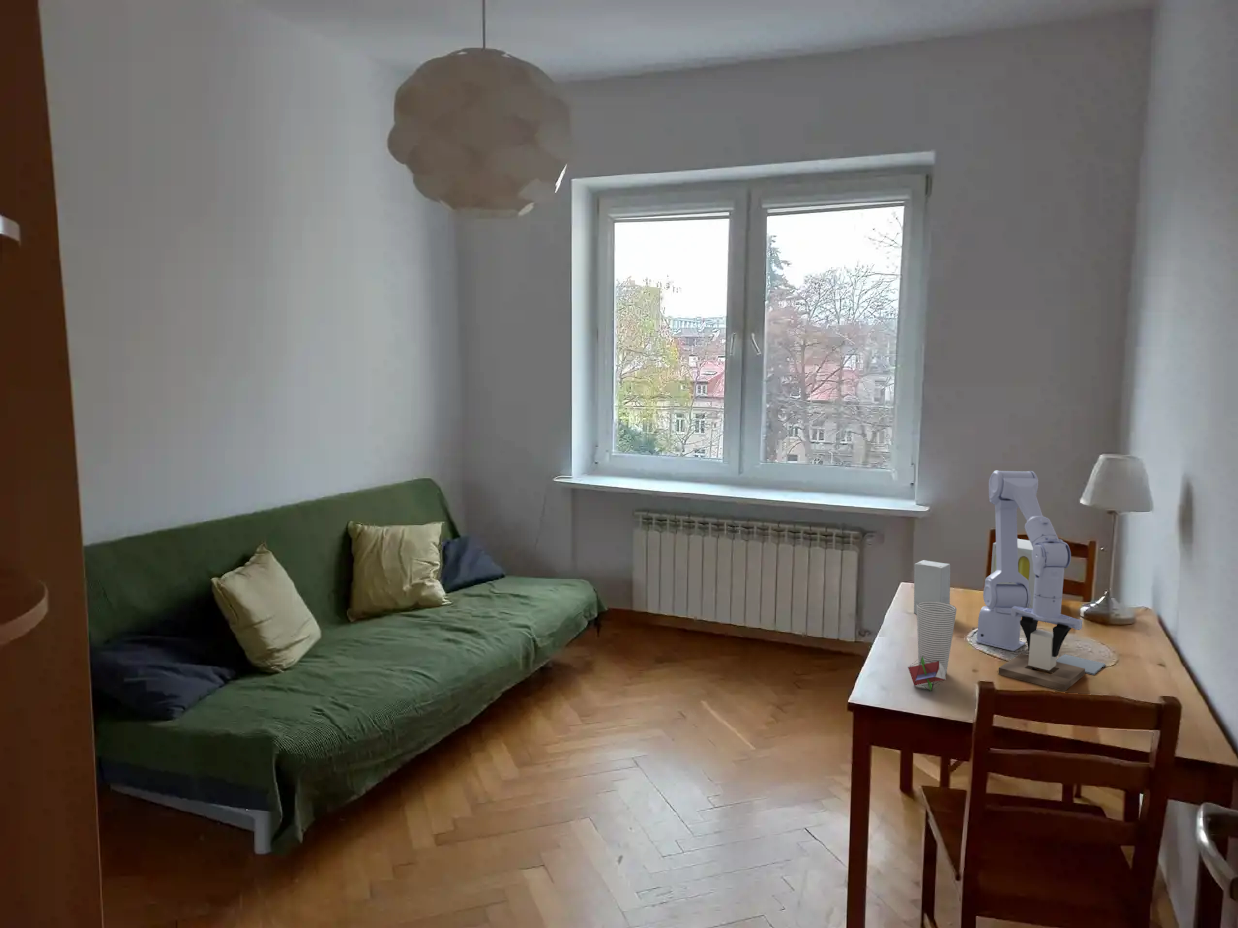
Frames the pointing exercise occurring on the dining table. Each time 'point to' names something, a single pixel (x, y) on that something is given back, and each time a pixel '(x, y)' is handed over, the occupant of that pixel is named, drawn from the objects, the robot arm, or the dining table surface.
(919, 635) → the cup
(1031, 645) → the cream block
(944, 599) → the skincare box
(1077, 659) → the slate mat
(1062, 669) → the pocket board
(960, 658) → the dining table surface
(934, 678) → the geometric puzzle
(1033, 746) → the dining table surface
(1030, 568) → the supplement box
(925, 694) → the dining table surface
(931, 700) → the dining table surface
